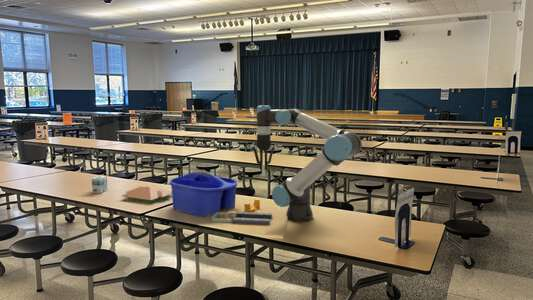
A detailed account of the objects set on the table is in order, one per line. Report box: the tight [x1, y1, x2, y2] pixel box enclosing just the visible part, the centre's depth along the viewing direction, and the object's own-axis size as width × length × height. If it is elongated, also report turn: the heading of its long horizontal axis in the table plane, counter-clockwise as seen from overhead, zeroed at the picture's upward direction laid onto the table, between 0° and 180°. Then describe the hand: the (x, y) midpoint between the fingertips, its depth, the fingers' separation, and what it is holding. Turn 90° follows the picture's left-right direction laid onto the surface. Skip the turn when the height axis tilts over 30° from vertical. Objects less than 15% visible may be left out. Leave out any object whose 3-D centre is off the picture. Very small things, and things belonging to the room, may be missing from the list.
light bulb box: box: [91, 175, 108, 194], centre depth 270 cm, size 11×7×11 cm, turn 179°
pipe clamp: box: [243, 198, 261, 213], centre depth 223 cm, size 12×4×6 cm, turn 147°
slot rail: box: [231, 211, 273, 226], centre depth 204 cm, size 20×13×4 cm, turn 82°
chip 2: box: [227, 210, 237, 219], centre depth 206 cm, size 4×4×4 cm
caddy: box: [169, 170, 238, 217], centre depth 230 cm, size 32×45×23 cm
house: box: [121, 186, 172, 204], centre depth 254 cm, size 23×33×8 cm
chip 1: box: [220, 211, 229, 219], centre depth 206 cm, size 4×4×4 cm
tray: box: [210, 211, 232, 223], centre depth 207 cm, size 12×12×3 cm
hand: (263, 175), depth 208 cm, fingers closed
